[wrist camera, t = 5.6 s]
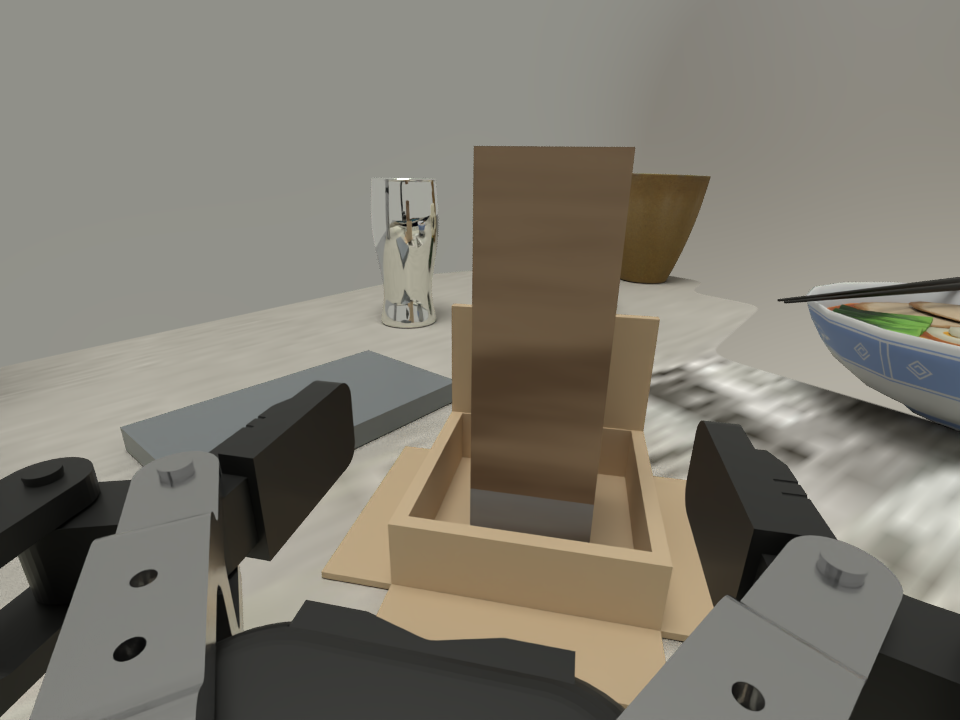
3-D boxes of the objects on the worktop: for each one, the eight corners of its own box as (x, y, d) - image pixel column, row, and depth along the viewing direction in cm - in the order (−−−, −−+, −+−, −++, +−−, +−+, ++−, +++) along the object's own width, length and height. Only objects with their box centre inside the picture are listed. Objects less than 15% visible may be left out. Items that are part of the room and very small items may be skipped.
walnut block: (587, 565, 21) (635, 146, 15) (469, 547, 22) (473, 145, 16) (587, 494, 25) (624, 153, 20) (490, 481, 26) (499, 152, 21)
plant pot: (671, 293, 71) (689, 173, 65) (579, 279, 80) (588, 172, 74) (705, 279, 81) (724, 174, 76) (621, 267, 90) (632, 173, 85)
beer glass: (450, 316, 58) (449, 178, 52) (421, 332, 52) (417, 179, 46) (398, 310, 60) (392, 177, 55) (364, 324, 54) (354, 177, 49)
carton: (779, 742, 15) (870, 476, 11) (280, 640, 18) (240, 405, 14) (692, 485, 27) (724, 321, 24) (405, 450, 30) (399, 299, 26)
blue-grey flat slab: (201, 522, 23) (195, 495, 23) (126, 450, 29) (120, 427, 29) (456, 399, 36) (456, 381, 36) (369, 366, 42) (368, 350, 42)
